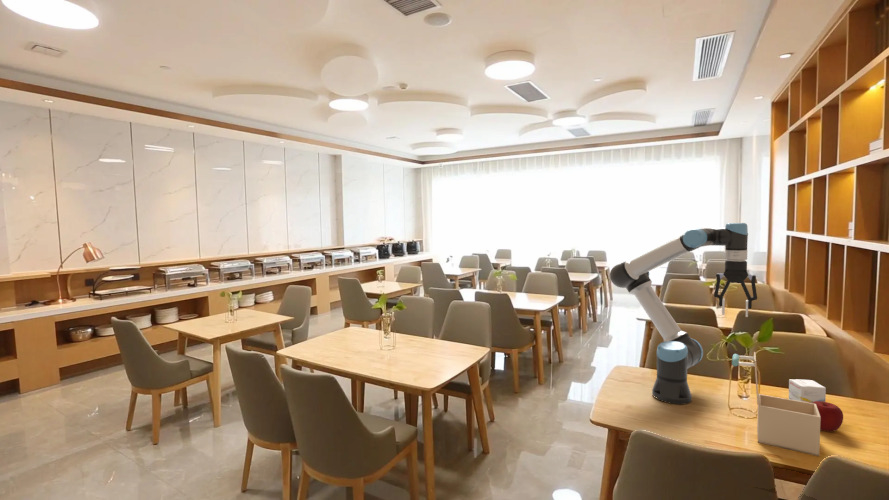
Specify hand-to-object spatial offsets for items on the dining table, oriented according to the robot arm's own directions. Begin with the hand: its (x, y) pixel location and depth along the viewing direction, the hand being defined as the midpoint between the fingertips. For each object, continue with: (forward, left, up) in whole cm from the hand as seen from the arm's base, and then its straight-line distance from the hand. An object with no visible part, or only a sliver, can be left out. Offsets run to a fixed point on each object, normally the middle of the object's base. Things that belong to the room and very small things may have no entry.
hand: (734, 315), depth 177 cm
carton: (+16, -28, -37) cm, 49 cm away
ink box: (+24, +5, -37) cm, 45 cm away
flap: (+7, -28, -16) cm, 33 cm away
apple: (+28, -10, -37) cm, 48 cm away
